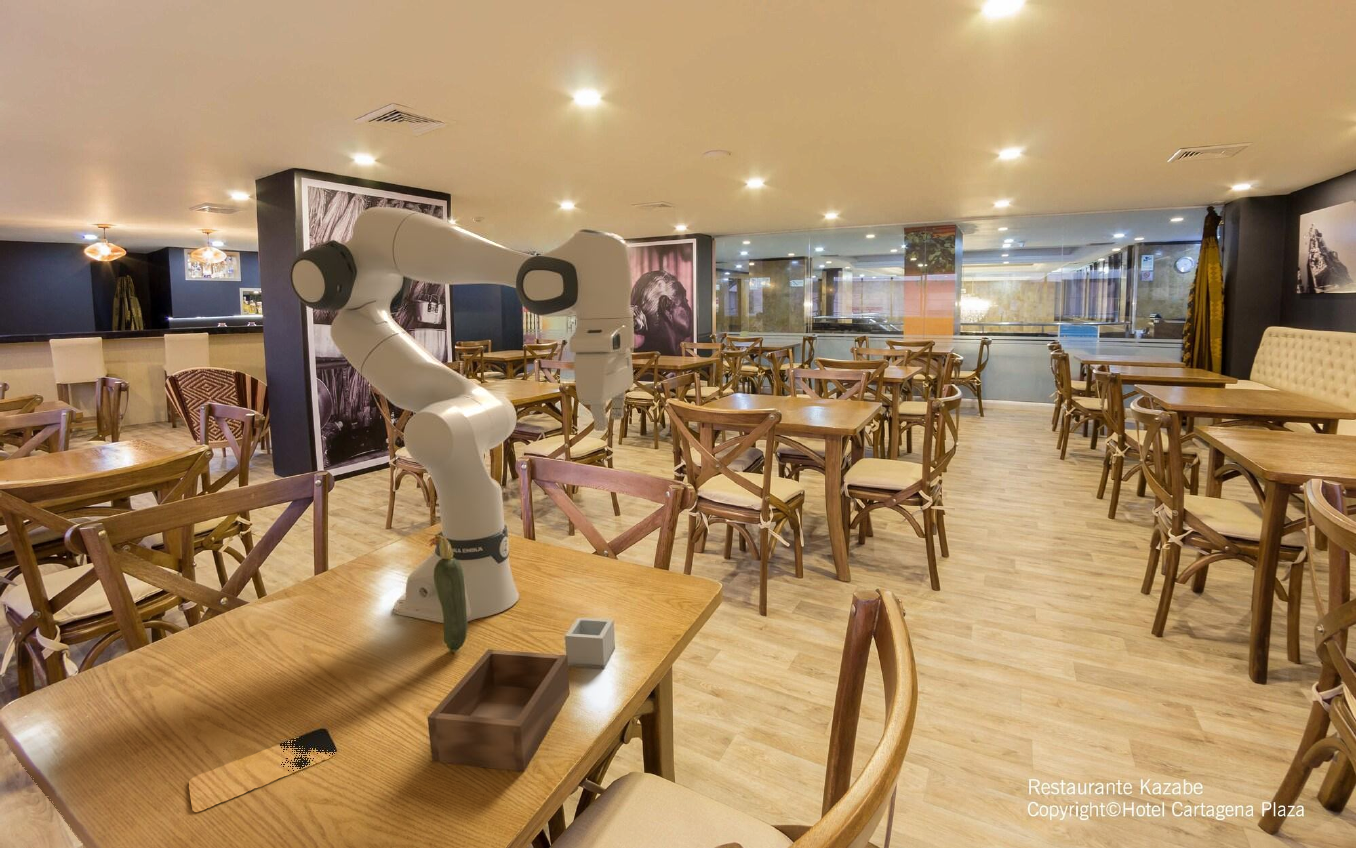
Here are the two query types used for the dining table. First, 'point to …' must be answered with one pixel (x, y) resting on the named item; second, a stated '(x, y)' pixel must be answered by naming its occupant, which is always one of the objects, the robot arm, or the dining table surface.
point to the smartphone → (311, 745)
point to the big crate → (500, 710)
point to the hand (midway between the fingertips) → (609, 424)
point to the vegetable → (451, 595)
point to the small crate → (590, 642)
